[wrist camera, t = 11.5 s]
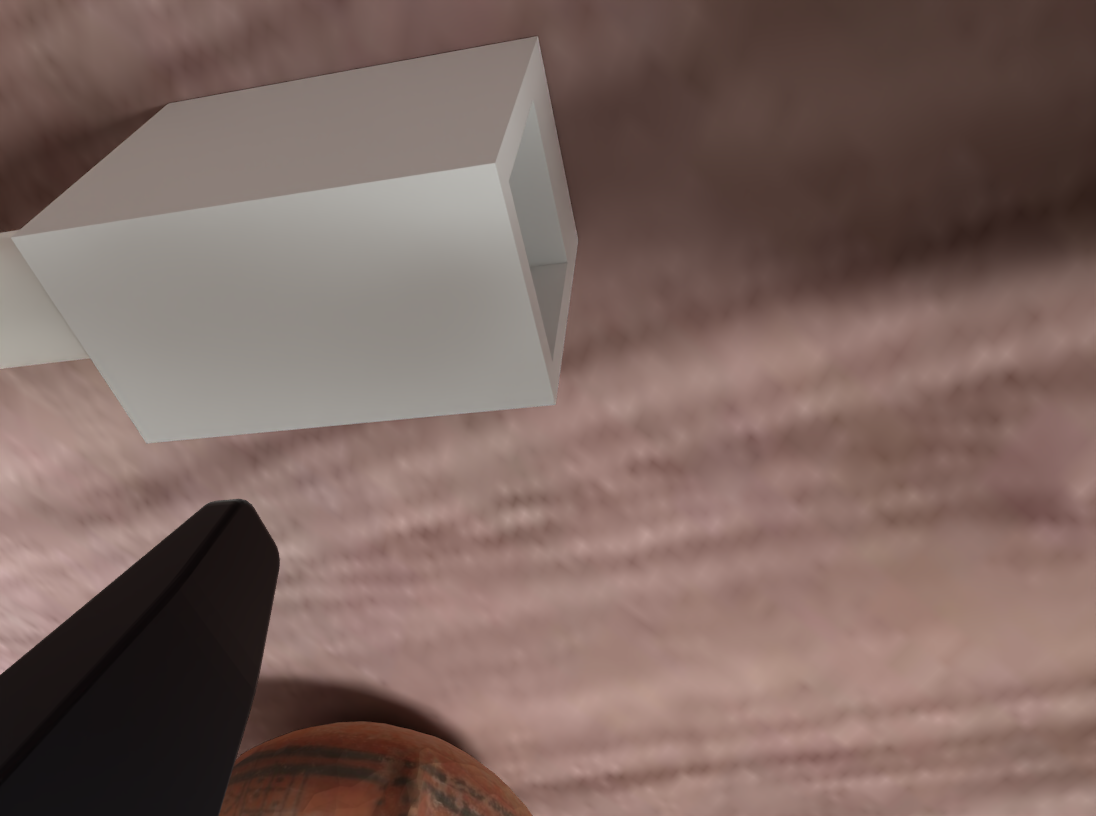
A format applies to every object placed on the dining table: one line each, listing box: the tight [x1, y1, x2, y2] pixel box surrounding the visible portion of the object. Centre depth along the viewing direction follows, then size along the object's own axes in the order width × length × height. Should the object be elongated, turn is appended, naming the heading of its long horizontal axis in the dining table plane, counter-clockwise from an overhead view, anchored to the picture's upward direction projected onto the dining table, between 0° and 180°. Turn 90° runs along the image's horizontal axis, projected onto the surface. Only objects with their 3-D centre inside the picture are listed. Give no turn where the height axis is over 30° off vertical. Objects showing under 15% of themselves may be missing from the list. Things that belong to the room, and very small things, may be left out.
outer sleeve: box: [11, 36, 578, 443], centre depth 18 cm, size 9×5×6 cm, turn 101°
